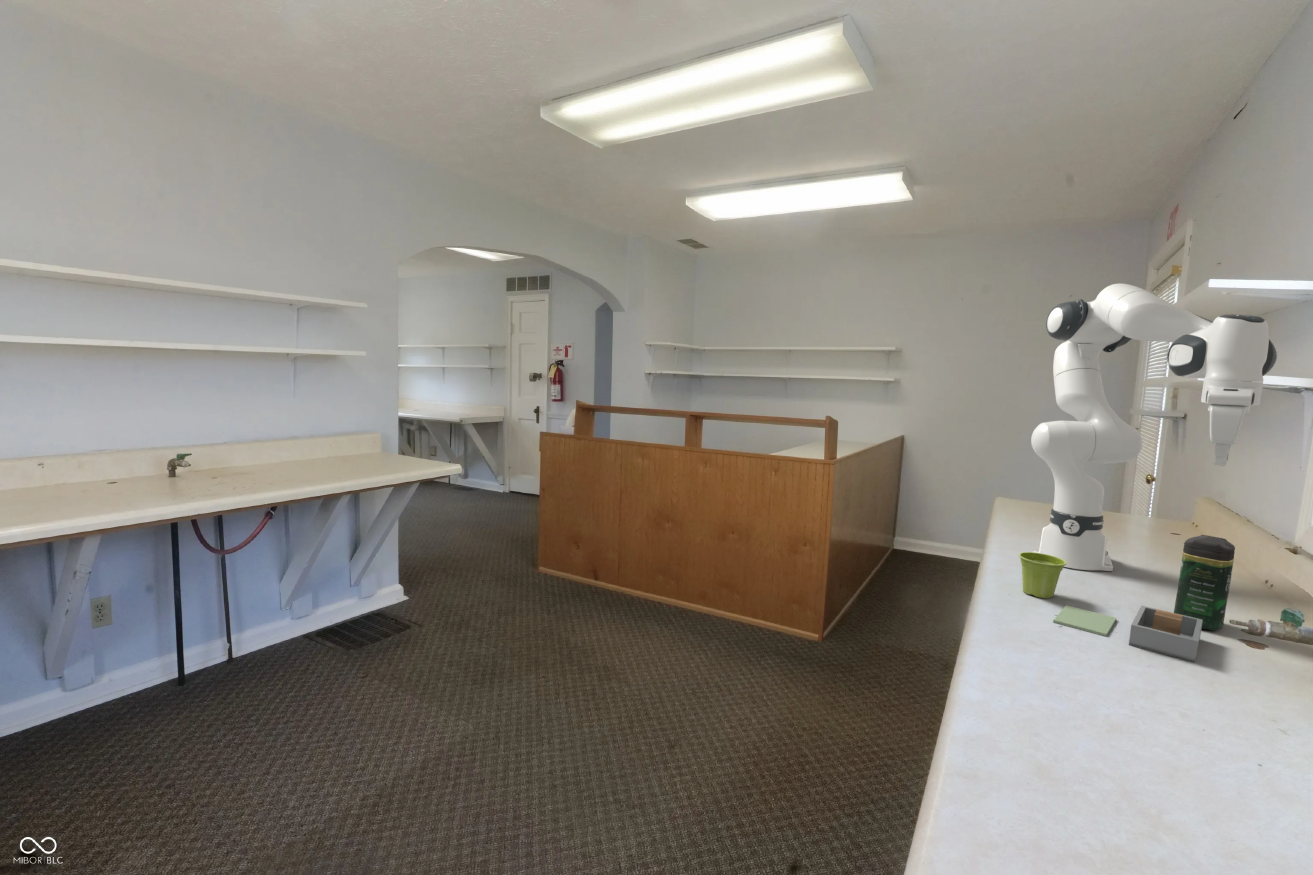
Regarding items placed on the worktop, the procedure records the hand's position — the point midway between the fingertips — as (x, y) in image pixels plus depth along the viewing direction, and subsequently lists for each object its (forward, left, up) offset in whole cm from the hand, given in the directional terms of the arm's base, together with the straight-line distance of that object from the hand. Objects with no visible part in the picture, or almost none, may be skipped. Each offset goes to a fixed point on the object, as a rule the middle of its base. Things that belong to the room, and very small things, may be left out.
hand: (1220, 463), depth 127 cm
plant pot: (+7, -28, -34) cm, 45 cm away
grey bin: (+18, -4, -34) cm, 39 cm away
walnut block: (+18, -4, -34) cm, 38 cm away
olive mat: (+18, -17, -34) cm, 42 cm away
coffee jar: (0, 0, -34) cm, 34 cm away
